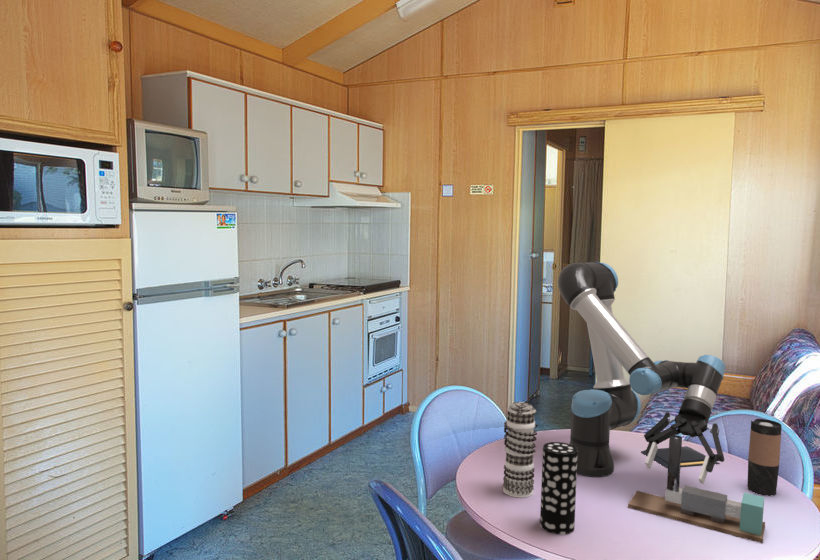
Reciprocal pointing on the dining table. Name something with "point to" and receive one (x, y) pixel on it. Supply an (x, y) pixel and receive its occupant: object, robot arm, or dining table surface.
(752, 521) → the socket
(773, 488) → the travel mug
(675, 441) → the grey two-tone fixture
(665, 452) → the black book
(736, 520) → the base board
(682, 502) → the grey notched block
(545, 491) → the white-spotted black cylinder
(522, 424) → the decorative candle
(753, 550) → the dining table surface
